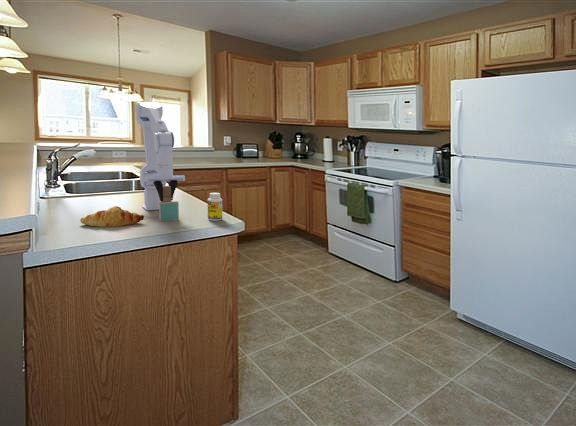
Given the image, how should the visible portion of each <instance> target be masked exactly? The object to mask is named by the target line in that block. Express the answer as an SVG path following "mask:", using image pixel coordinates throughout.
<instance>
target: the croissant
mask: <svg viewBox="0 0 576 426" xmlns="http://www.w3.org/2000/svg"><path fill="white" fill-rule="evenodd" d="M144 218H145V215H143V214H139V213H137V212H130V211H129V210H126V209H122V208H121V207H120V206H116V205H114V206H112V207H109V208H108V209H107V210H104V209H103V210H98V211H96V212H94V213H92V214H87V215H86V216H85V217H81V218H80V219H79V221H80V223H81V224H82V225H84V226H92V227H99V228H109V227H112V228H115V227H121V226H128V225H129V226H130V225H135V224H138V223H140V222H141V221H143V220H144Z"/></svg>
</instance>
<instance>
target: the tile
mask: <svg viewBox="0 0 576 426" xmlns="http://www.w3.org/2000/svg"><path fill="white" fill-rule="evenodd" d="M179 206H180V205H179V201H178V200H176V201H175V200H174V201H173V200H172V201H171V202H159V210H158V214H159V215H158V216H159V217H158V218H159V219H158V220H159V222H168V221H169V222H170V220H171V221H179V220H180V211H179V210H180V209H179Z"/></svg>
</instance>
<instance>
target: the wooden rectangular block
mask: <svg viewBox="0 0 576 426" xmlns="http://www.w3.org/2000/svg"><path fill="white" fill-rule="evenodd" d="M162 193H163V201H161V202H172V201H171V187H170V186H169V185H165V186H163V192H162Z"/></svg>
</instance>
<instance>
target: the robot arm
mask: <svg viewBox="0 0 576 426" xmlns="http://www.w3.org/2000/svg"><path fill="white" fill-rule="evenodd" d="M163 110H164V108H163V105H162V103H161V102H151V101H150V102H149V101H148V102H147V101H137V102H136V103H135V117H136V122H137V124H139V125H140V126H141V129H142V134H143V144H144V154H145V155H144V156H145V165H144V166H143V167H141V169H140V171H139V174H140V175H139V182H140V186H141V187H142V188H144V190H143V191H144V192H143V199H144V204H143V205H142V207H141V208H143V209H144V210H146V211H159V202H161V201H163V193H162V192H163V186H167V183H168V186H170V187H171V202H173V200H174V195H175V190H176V189H177V188H178V187H177V186H178V184H179V182H181V181H182V182H185V181H186V176H185V175H174V161H173V157H174V156H173V149H174V145H175V136H174V133H173V131H170V130H169V129H168V127H167V124H166V123H165V121H163V120H162V117H163V113H164V111H163Z"/></svg>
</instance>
